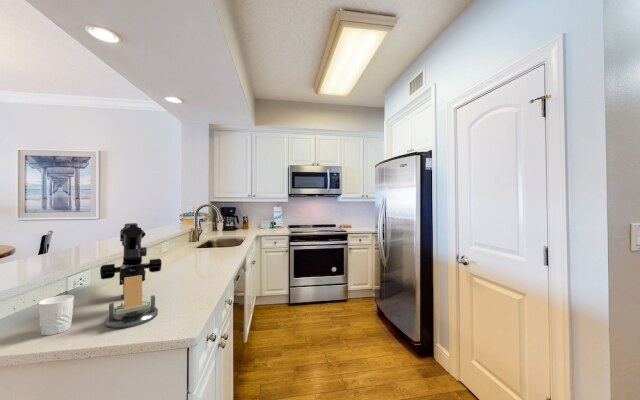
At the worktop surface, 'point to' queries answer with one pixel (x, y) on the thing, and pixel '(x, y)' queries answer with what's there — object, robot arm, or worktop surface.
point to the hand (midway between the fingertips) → (132, 287)
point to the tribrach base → (131, 317)
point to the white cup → (55, 314)
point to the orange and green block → (132, 296)
